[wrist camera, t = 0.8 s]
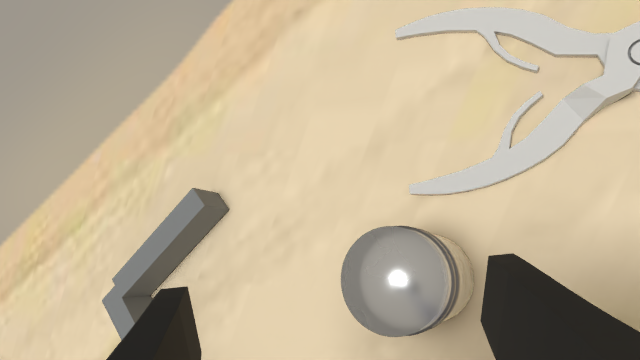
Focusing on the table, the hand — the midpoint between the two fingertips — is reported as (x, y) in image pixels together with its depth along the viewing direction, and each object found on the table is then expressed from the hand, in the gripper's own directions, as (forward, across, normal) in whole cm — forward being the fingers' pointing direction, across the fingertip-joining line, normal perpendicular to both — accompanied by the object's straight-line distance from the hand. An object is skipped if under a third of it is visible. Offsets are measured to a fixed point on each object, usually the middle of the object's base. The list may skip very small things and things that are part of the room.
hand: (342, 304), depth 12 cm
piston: (+11, -6, +8) cm, 15 cm away
